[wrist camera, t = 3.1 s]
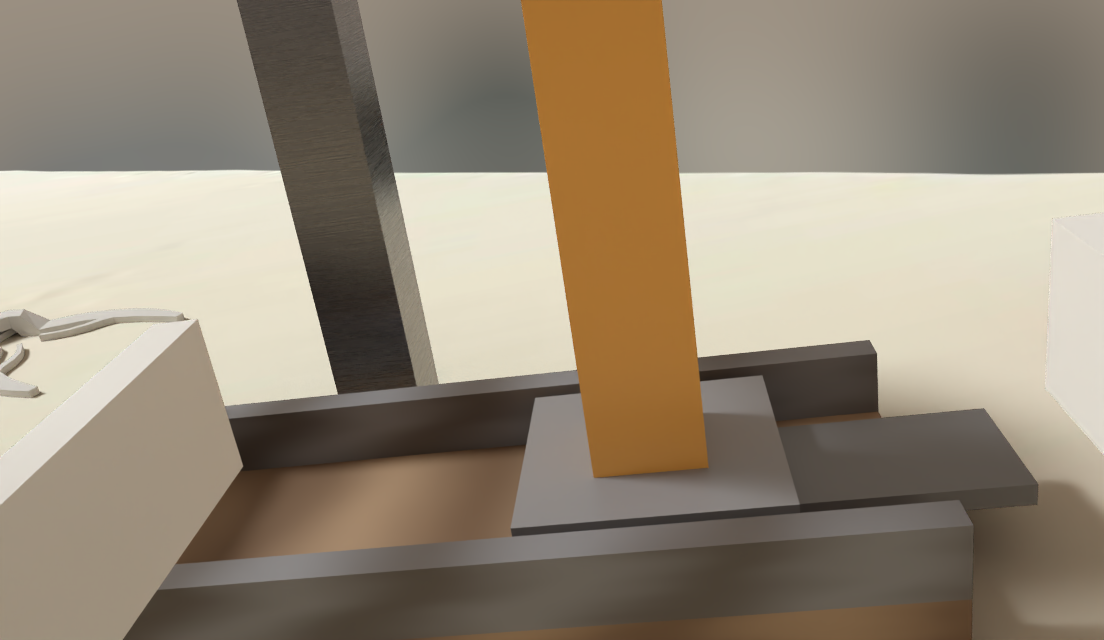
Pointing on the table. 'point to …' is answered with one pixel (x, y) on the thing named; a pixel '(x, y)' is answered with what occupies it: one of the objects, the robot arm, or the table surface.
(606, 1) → the handle
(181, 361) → the robot arm
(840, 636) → the track
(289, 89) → the hook
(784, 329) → the table surface
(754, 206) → the table surface
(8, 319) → the pliers
